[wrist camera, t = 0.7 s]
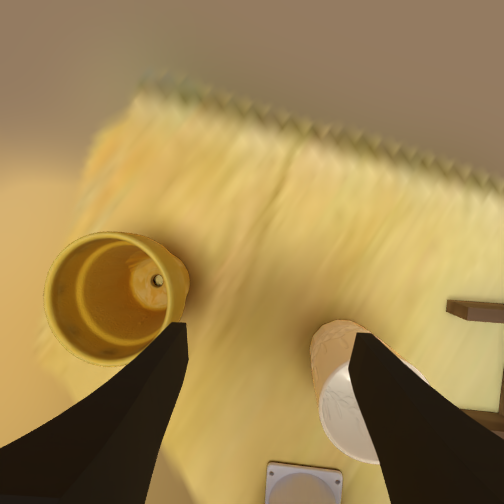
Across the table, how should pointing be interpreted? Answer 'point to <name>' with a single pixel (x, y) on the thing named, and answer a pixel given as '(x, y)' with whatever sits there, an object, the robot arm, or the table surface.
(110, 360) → the plant pot
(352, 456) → the beige tapered cylinder
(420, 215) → the table surface
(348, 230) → the table surface
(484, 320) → the holder
